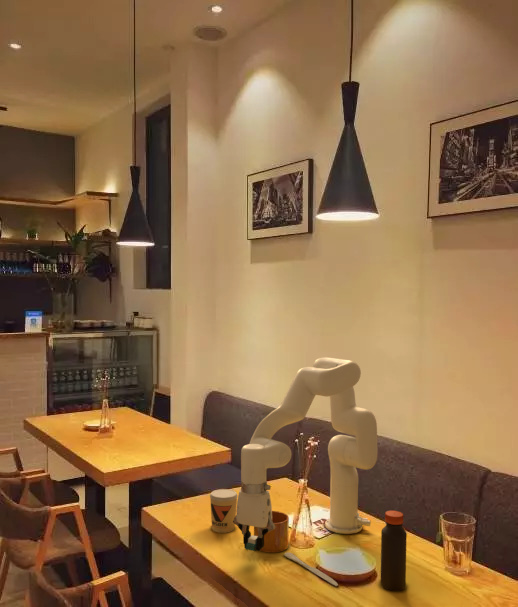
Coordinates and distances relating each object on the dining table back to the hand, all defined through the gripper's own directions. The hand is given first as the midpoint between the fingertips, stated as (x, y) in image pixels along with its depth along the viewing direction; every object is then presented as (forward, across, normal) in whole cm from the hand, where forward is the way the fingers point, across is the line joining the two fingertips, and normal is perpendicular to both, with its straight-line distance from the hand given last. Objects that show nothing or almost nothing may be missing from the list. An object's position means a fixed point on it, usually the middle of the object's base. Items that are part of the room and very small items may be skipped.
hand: (253, 547), depth 178 cm
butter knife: (+5, -17, -3) cm, 18 cm away
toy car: (0, 0, 0) cm, 0 cm away
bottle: (+5, -40, -4) cm, 41 cm away
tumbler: (+5, 0, -14) cm, 14 cm away
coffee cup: (+5, +20, -19) cm, 28 cm away
